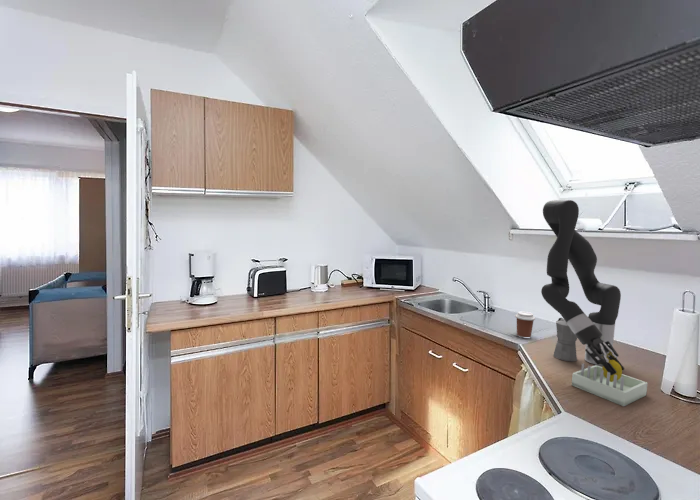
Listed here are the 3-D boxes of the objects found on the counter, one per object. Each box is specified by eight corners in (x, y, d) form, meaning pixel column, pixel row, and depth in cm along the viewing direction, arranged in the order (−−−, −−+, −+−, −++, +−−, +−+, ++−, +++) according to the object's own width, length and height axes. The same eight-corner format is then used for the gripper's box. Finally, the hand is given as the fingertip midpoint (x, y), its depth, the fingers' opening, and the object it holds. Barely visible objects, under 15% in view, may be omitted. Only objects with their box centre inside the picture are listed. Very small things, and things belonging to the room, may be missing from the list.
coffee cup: (537, 338, 177) (539, 315, 176) (522, 339, 175) (524, 315, 174) (525, 333, 186) (526, 310, 184) (509, 333, 183) (511, 311, 182)
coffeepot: (584, 364, 146) (588, 321, 144) (559, 362, 147) (563, 320, 146) (567, 350, 161) (570, 312, 159) (545, 349, 162) (548, 310, 161)
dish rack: (594, 376, 134) (596, 355, 134) (646, 395, 121) (648, 372, 120) (571, 385, 126) (573, 363, 126) (623, 406, 113) (626, 381, 112)
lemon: (611, 386, 121) (614, 363, 120) (597, 378, 127) (599, 357, 126) (624, 385, 122) (627, 362, 121) (610, 377, 128) (612, 356, 127)
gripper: (582, 326, 125) (618, 372, 116) (601, 321, 133) (636, 363, 124) (565, 336, 130) (598, 381, 121) (585, 330, 138) (617, 372, 129)
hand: (617, 372), depth 123 cm, fingers closed on lemon, 5 cm apart
